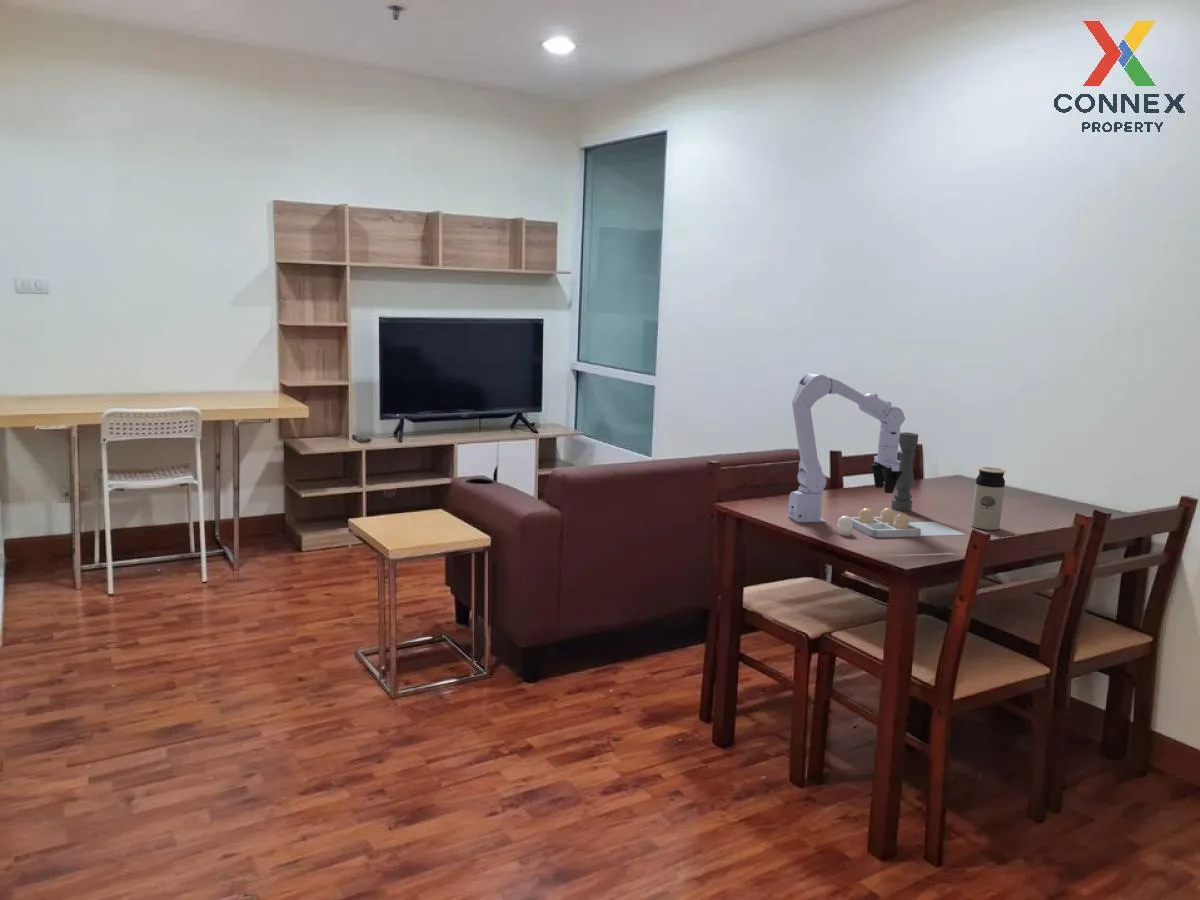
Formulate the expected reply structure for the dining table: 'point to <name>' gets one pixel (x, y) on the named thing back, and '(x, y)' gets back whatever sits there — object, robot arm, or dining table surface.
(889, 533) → the egg carton
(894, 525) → the brown egg back
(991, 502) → the travel mug
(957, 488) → the dining table surface
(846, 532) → the white egg
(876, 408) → the robot arm
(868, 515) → the brown egg left
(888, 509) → the brown egg far
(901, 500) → the candle holder
